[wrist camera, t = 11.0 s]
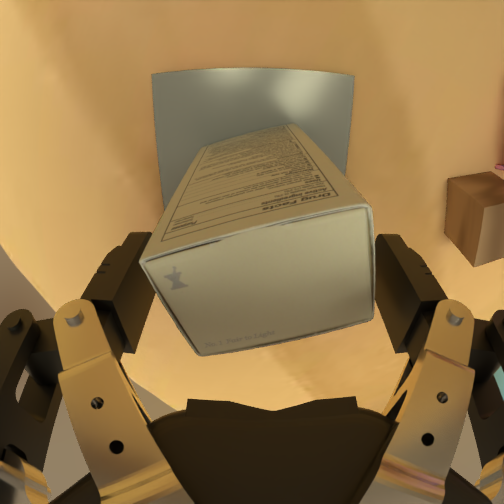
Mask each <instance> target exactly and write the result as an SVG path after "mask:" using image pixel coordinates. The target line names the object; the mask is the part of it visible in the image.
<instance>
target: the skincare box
mask: <svg viewBox="0 0 504 504" xmlns="http://www.w3.org/2000/svg"><path fill="white" fill-rule="evenodd" d="M139 263H140V265H141V267H142V269H143V270H144V272H145V274H146V275H147V277H148V279H149V281H150V283H151V285H152V286H153V288H154V290H155V292H156V293H157V295H158V297H159V299H160V300H161V302H162V304H163V305H164V307H165V308H166V310H167V312H168V313H169V315H170V316H171V318H172V319H173V321H174V323H175V324H176V326H177V328H178V329H179V330H180V332H181V333H182V335H183V336H184V338H185V339H186V340H187V342H188V343H189V345H190V346H191V347H192V349H193V350H194V352H195V353H196V354H197V355H198V356H210V355H218V354H225V353H232V352H238V351H243V350H249V349H254V348H259V347H266V346H270V345H276V344H281V343H285V342H289V341H295V340H300V339H302V338H306V337H312V336H316V335H320V334H325V333H328V332H331V331H335V330H339V329H343V328H347V327H351V326H354V325H357V324H361V323H365V322H368V321H371V320H372V319H373V317H374V303H375V240H374V224H373V212H372V207H371V206H370V205H369V203H368V202H367V201H366V200H365V199H364V198H363V196H362V195H361V194H360V193H359V192H358V191H357V189H356V188H355V187H354V186H353V185H352V183H351V182H350V181H349V180H348V179H347V178H346V177H345V176H344V175H343V174H342V172H341V171H340V170H339V169H338V168H337V167H336V166H335V165H334V164H333V162H332V161H331V160H330V159H329V158H328V157H327V156H326V155H325V153H324V152H323V151H322V150H321V149H320V148H319V147H318V146H317V145H316V144H315V143H314V142H313V141H312V140H311V139H310V138H309V137H308V136H307V135H306V134H305V133H304V132H303V131H302V130H301V129H300V128H299V127H298V126H297V125H296V124H294V123H292V124H287V125H282V126H277V127H272V128H268V129H264V130H260V131H256V132H251V133H248V134H244V135H240V136H237V137H233V138H230V139H226V140H223V141H220V142H217V143H214V144H211V145H207V146H204V147H202V148H201V149H200V150H199V152H198V153H197V155H196V157H195V159H194V160H193V162H192V163H191V165H190V167H189V168H188V170H187V172H186V174H185V175H184V177H183V179H182V180H181V182H180V184H179V186H178V188H177V189H176V191H175V193H174V195H173V196H172V198H171V200H170V202H169V204H168V206H167V208H166V209H165V211H164V213H163V215H162V217H161V219H160V221H159V223H158V225H157V226H156V228H155V230H154V232H153V234H152V236H151V238H150V240H149V242H148V243H147V245H146V247H145V250H144V252H143V254H142V256H141V258H140V260H139Z"/></svg>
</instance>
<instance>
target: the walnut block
mask: <svg viewBox="0 0 504 504" xmlns="http://www.w3.org/2000/svg"><path fill="white" fill-rule="evenodd" d="M444 233H445V234H446V235H447V236H448V238H449V239H450V240H451V241H452V242H453V243H454V244H455V246H456V247H457V248H458V249H459V250H460V251H461V253H462V254H463V255H464V256H465V258H466V259H467V260H468V261H469V262H470V264H471V265H472V266H473V267H477V266H480V265H483V264H486V263H489V262H492V261H495V260H498V259H501V258H504V180H503V179H501V178H500V177H498V176H497V175H496V174H494V173H493V172H484V173H478V174H472V175H466V176H460V177H454V178H448V188H447V207H446V220H445V231H444Z"/></svg>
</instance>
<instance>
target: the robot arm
mask: <svg viewBox="0 0 504 504" xmlns="http://www.w3.org/2000/svg"><path fill="white" fill-rule="evenodd" d="M151 236H152V233H151V232H131V233H129V235H128V236H127V238H126V239H125V241H124V243H123V244H122V246H117V247H116V248H114V249H113V250H112V251H111V252H109V253H108V254H107V255H106V257H105V258H104V260H103V262H102V263H101V265H100V266H99V268H98V270H97V273H95V274H94V276H93V278H92V279H91V281H90V283H89V284H88V286H87V288H86V289H85V291H84V293H83V295H82V296H81V298H80V299H76V300H72V301H70V302H68V303H66V304H64V305H63V306H62V307H60V308H59V310H58V311H57V312H56V314H55V316H54V318H52V319H46V320H40V321H36V320H35V319H34V317H33V315H32V314H31V312H29V310H26V309H19V310H16V311H14V312H12V313H10V314H9V315H8V316H7V317H6V318H5V319H4V320H3V322H2V323H1V325H0V504H504V400H503V398H502V395H501V392H500V390H499V387H498V384H497V382H496V379H495V377H494V374H495V372H496V371H497V370H498V369H499V368H500V366H501V367H502V370H503V372H504V310H498V311H496V312H495V313H494V315H493V316H492V318H491V320H490V321H485V320H480V319H475V318H474V317H473V315H472V313H471V311H470V310H469V309H468V308H467V307H466V306H465V305H464V304H462V303H460V302H458V301H456V300H452V299H448V298H447V296H446V294H445V293H444V291H443V289H442V288H441V286H440V285H439V283H438V282H437V280H436V278H435V277H434V275H432V272H431V271H430V269H429V268H428V267H427V265H426V263H425V262H424V260H423V259H422V257H421V256H420V255H419V254H417V253H416V252H415V251H414V250H412V249H411V248H408V247H407V245H406V244H405V242H404V241H403V240H402V238H401V237H400V235H398V234H379V235H378V236H377V238H376V241H375V301H376V303H377V306H378V308H379V311H380V313H381V316H382V319H383V321H384V324H385V326H386V329H387V332H388V334H389V337H390V340H391V342H392V345H393V348H394V351H395V354H396V353H404V352H408V354H409V358H408V360H407V362H406V364H405V366H404V368H403V371H402V373H401V375H400V378H399V380H398V382H397V385H396V387H395V389H394V391H393V393H392V396H391V398H390V400H389V402H388V404H387V405H386V407H385V409H384V410H383V412H382V414H380V413H378V412H375V411H372V410H369V409H365V408H360V407H358V406H357V401H356V396H353V397H343V398H333V399H320V400H314V401H310V402H307V403H304V404H300V405H297V406H293V407H289V408H285V409H282V410H277V411H269V410H264V409H259V408H255V407H251V406H247V405H242V404H238V403H234V402H231V401H214V400H198V399H188V401H187V407H186V410H181V411H177V412H173V413H170V414H167V415H164V416H162V417H160V418H158V419H156V420H154V421H152V420H151V418H150V416H149V415H148V413H147V412H146V410H145V408H144V406H143V404H142V403H141V401H140V399H139V397H138V395H137V393H136V391H135V389H134V387H133V385H132V383H131V381H130V379H129V377H128V375H127V373H126V371H125V369H124V367H123V365H122V363H121V361H120V360H121V357H122V354H123V352H124V353H133V354H135V352H136V349H137V346H138V342H139V339H140V336H141V333H142V330H143V328H144V325H145V322H146V319H147V316H148V313H149V310H150V307H151V305H152V302H153V299H154V296H155V293H156V292H155V290H154V288H153V286H152V285H151V283H150V281H149V279H148V277H147V275H146V274H145V272H144V270H143V269H142V267H141V265H140V263H139V260H140V258H141V256H142V254H143V252H144V250H145V247H146V245H147V243H148V242H149V240H150V238H151ZM24 369H25V370H26V371H27V372H28V373H29V377H28V379H27V382H26V384H25V387H24V389H23V392H22V395H21V397H20V400H19V403H18V402H17V400H16V394H15V392H16V387H17V384H18V382H19V380H20V377H21V375H22V373H23V370H24ZM62 396H63V398H64V401H65V405H66V408H67V411H68V414H69V418H70V421H71V424H72V426H73V430H74V432H75V435H76V438H77V441H78V443H79V446H80V449H81V451H82V453H83V456H84V459H85V461H86V464H87V465H88V468H89V470H90V472H89V473H88V474H87V475H85V476H84V477H83V478H82V479H80V480H79V481H78V482H76V483H75V484H74V485H73V486H71V487H70V488H69V489H67V490H66V491H65V492H63V493H62V494H61V495H59V496H58V497H56V498H55V499H54V500H52V501H51V502H50V503H49V502H48V500H49V499H50V497H51V490H50V488H49V487H48V486H47V483H46V479H45V477H44V475H43V474H42V472H43V467H44V463H45V458H46V454H47V450H48V446H49V442H50V438H51V434H52V430H53V426H54V423H55V419H56V416H57V412H58V409H59V405H60V402H61V399H62ZM467 411H468V414H469V417H470V420H471V424H472V428H473V432H474V436H475V439H476V443H477V448H478V452H479V456H480V460H481V465H482V472H481V475H480V479H478V480H477V481H476V483H475V485H474V486H473V485H472V484H471V483H470V482H468V481H467V480H466V479H464V478H463V477H462V476H461V475H459V474H458V473H457V472H455V471H454V470H453V469H452V468H450V466H451V463H452V460H453V458H454V455H455V452H456V449H457V445H458V442H459V439H460V436H461V432H462V429H463V425H464V422H465V418H466V414H467Z"/></svg>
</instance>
